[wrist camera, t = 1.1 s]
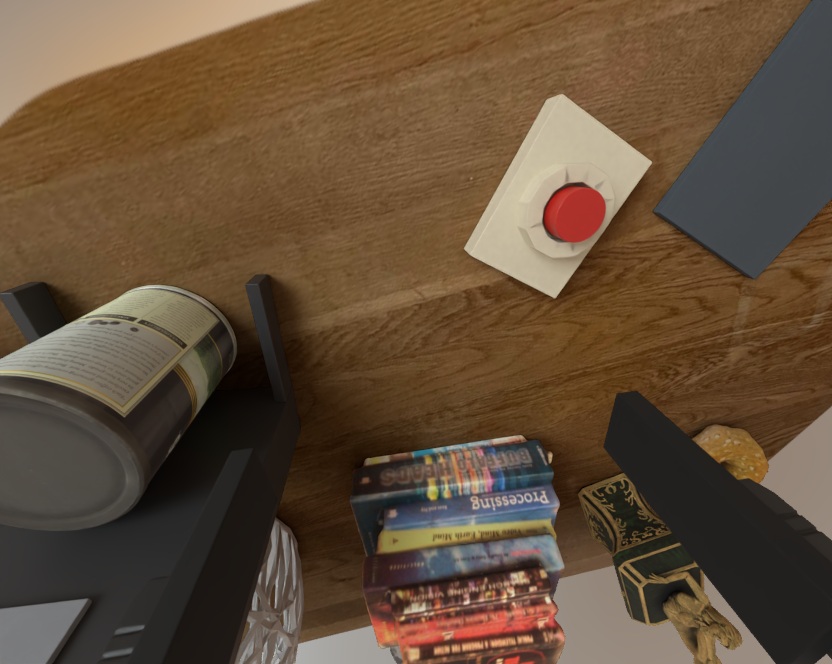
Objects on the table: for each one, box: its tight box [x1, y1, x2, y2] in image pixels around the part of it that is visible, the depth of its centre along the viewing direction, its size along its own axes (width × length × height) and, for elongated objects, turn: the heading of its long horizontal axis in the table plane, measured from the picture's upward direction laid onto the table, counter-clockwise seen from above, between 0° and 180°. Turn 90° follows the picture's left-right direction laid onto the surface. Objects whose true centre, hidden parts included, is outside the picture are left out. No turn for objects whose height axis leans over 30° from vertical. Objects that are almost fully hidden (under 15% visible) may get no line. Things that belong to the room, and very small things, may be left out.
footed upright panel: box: [0, 274, 301, 664], centre depth 19 cm, size 17×18×26 cm
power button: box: [544, 186, 606, 243], centre depth 23 cm, size 4×4×2 cm
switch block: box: [464, 94, 652, 298], centre depth 25 cm, size 12×9×4 cm
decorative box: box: [578, 473, 742, 664], centre depth 40 cm, size 20×10×20 cm, turn 24°
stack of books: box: [350, 435, 565, 664], centre depth 35 cm, size 23×18×17 cm
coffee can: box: [0, 285, 237, 531], centre depth 23 cm, size 10×10×14 cm
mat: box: [653, 0, 832, 279], centre depth 27 cm, size 18×14×1 cm
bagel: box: [692, 424, 769, 484], centre depth 42 cm, size 10×11×5 cm
